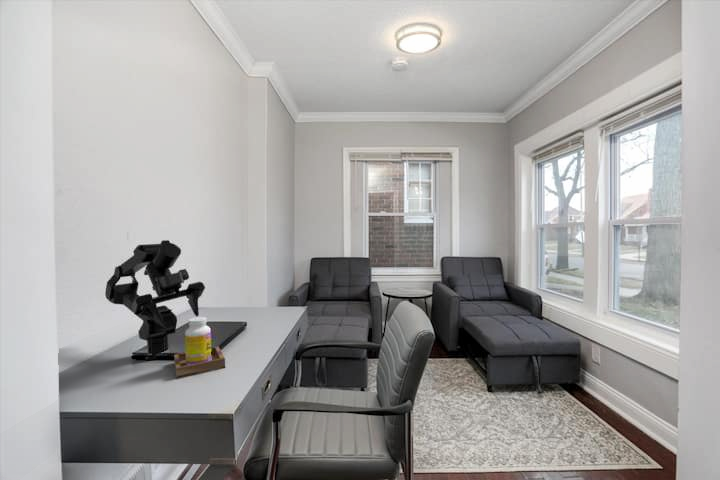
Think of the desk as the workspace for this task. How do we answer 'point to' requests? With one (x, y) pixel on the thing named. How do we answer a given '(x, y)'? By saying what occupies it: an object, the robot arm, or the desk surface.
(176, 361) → the walnut tray
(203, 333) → the supplement bottle
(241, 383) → the desk surface
